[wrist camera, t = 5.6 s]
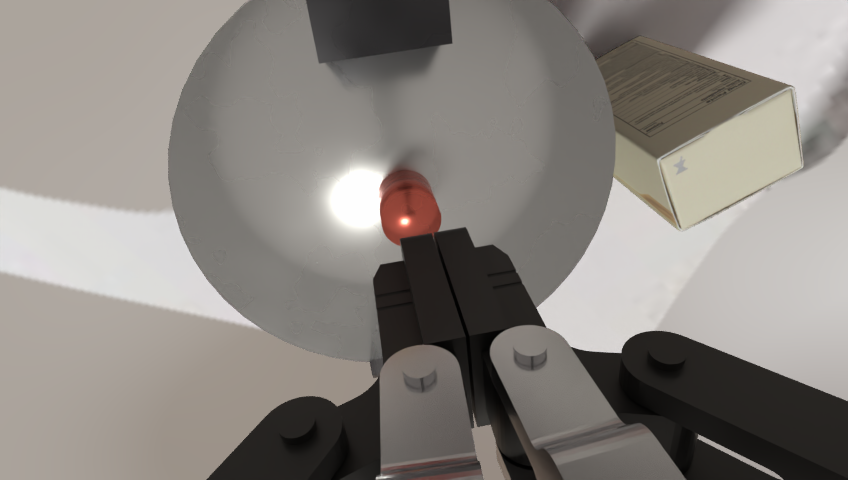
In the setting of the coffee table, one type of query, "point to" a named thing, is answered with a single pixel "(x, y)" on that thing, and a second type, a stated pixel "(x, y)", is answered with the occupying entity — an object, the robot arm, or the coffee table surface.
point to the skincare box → (696, 130)
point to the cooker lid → (384, 152)
